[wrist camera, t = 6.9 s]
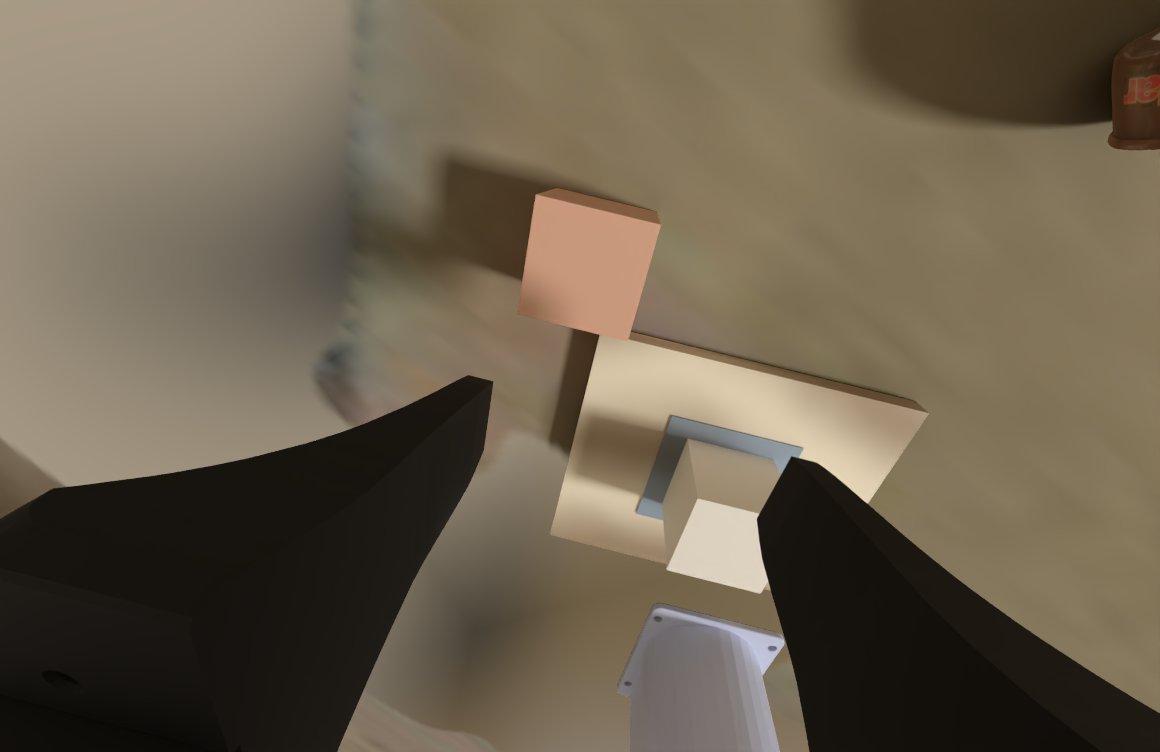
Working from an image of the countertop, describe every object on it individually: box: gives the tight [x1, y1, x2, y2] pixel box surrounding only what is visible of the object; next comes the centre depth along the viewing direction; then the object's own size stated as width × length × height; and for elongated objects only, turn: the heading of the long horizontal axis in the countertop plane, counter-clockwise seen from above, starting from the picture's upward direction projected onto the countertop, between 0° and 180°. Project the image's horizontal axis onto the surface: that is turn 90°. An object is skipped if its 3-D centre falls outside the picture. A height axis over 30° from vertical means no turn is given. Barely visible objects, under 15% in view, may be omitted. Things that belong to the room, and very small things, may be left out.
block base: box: [662, 439, 781, 593], centre depth 19 cm, size 4×4×4 cm
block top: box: [517, 188, 661, 342], centre depth 16 cm, size 4×4×4 cm
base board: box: [550, 332, 929, 590], centre depth 21 cm, size 12×14×1 cm
